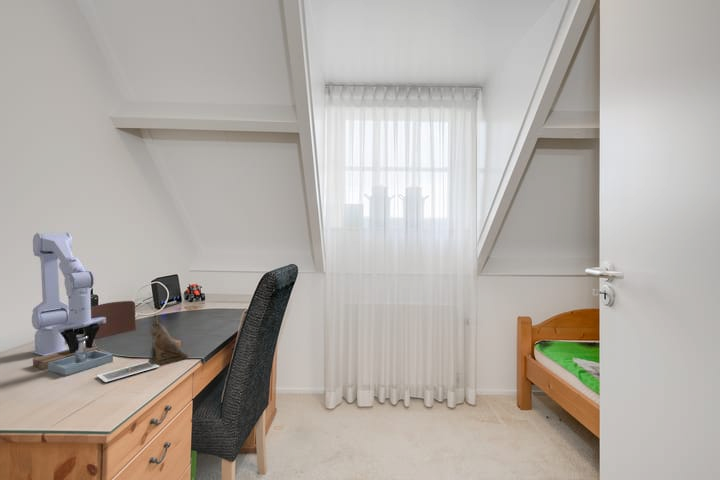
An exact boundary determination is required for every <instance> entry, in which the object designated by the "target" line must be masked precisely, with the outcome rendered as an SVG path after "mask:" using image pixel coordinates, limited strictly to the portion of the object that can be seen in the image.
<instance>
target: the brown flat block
mask: <svg viewBox="0 0 720 480" xmlns="http://www.w3.org/2000/svg"><path fill="white" fill-rule="evenodd" d="M100 348H101V347H99V346H95V345H92V348H87V347H86V352H89V351H93V350H98V351H101V350H100ZM74 355H75V352H74V353H72V352H70V350H65V351H61V352H57V353H53V354H49V355H45V356H42V355H41V356H39V357H34V358H32V366H33V367H34V368H37V369H40V370H43V371H48V363H49V362H53V361H56V360H60V359H64V358H67V357H71V356H74Z"/></svg>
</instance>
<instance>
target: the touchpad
mask: <svg viewBox="0 0 720 480" xmlns="http://www.w3.org/2000/svg"><path fill="white" fill-rule="evenodd" d="M155 368H160V365H157V364H150V362H149V360H148V361H143V362H141V363H140V362H139V363H137V364H132V365H129V366H126V367H121V368H119V369H114V370H111V371H107V372H104V373H101V374H97V375H96V376H97V378H99V379H101V381H103V382H104V383H107V382H111V381H114V380H119V379H122V378H124V377H129V376H130V375H134V374H138V373H141V372H144V371H149V370H152V369H155Z"/></svg>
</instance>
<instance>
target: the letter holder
mask: <svg viewBox="0 0 720 480" xmlns="http://www.w3.org/2000/svg"><path fill="white" fill-rule="evenodd" d="M99 317H106V323H101V324H98V325H99V326H100V329H99V330H98V332H97V334H96V336H95V338H94V340H97V339H101V338H105V337H106V336H107V337H110V336H115V335H118V334H124V333H128V332H133V331H136V329H137V325H136V303H135V302H134V301H133V300H126V301H125V300H124V301H121V300H120V301H113V302H112V301H111V302H107V303H102V304H97V305H93V306H91V319H92V318H99ZM73 330H74V332H77V335H80V334H85V330H84V327H82V328H78V329H73ZM107 337H106V338H107Z"/></svg>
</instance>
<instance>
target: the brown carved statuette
mask: <svg viewBox="0 0 720 480" xmlns="http://www.w3.org/2000/svg"><path fill="white" fill-rule="evenodd" d="M153 322H154V323H153V324H152V325H151V330H150V335H151V336H152V337H151V338H152V341H151V344H152V347H153V350H154V351H155V356H154V357H150V358H149V359H148V361H149V362H150V364H157V365H159V366H160V365H163V364H164V365H165V364H169V363H171V364H172V363H176V362H179V361H184V360H187V359H188V358H189V353H188V352H187V350H185V348H183V347H181V346H182V345H181V346H180V345H179V344H178V343H177V342H176V341H175V340H176V339H175V338H173V337H172V336H171V335H170V334H169V332H168V330H167V329H166V327H165V326H164V325H163V324H162V323H160V322H159V321H158V317H157V315H156V314H154V316H153Z"/></svg>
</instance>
